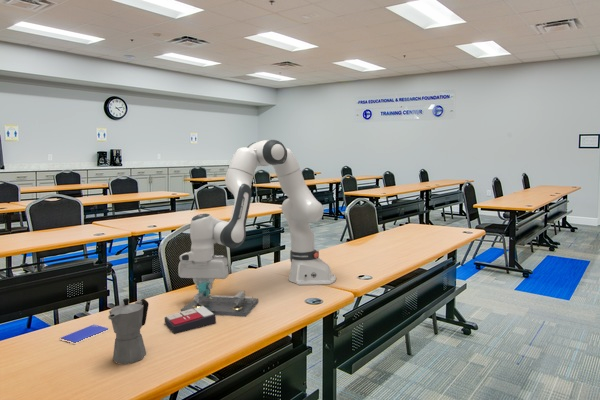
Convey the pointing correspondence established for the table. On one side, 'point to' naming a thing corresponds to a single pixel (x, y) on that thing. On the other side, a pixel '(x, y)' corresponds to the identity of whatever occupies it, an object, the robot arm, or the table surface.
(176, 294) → the table surface
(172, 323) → the calculator
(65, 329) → the table surface
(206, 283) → the slider
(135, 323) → the coffeepot
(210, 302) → the hole plate
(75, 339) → the hard drive
